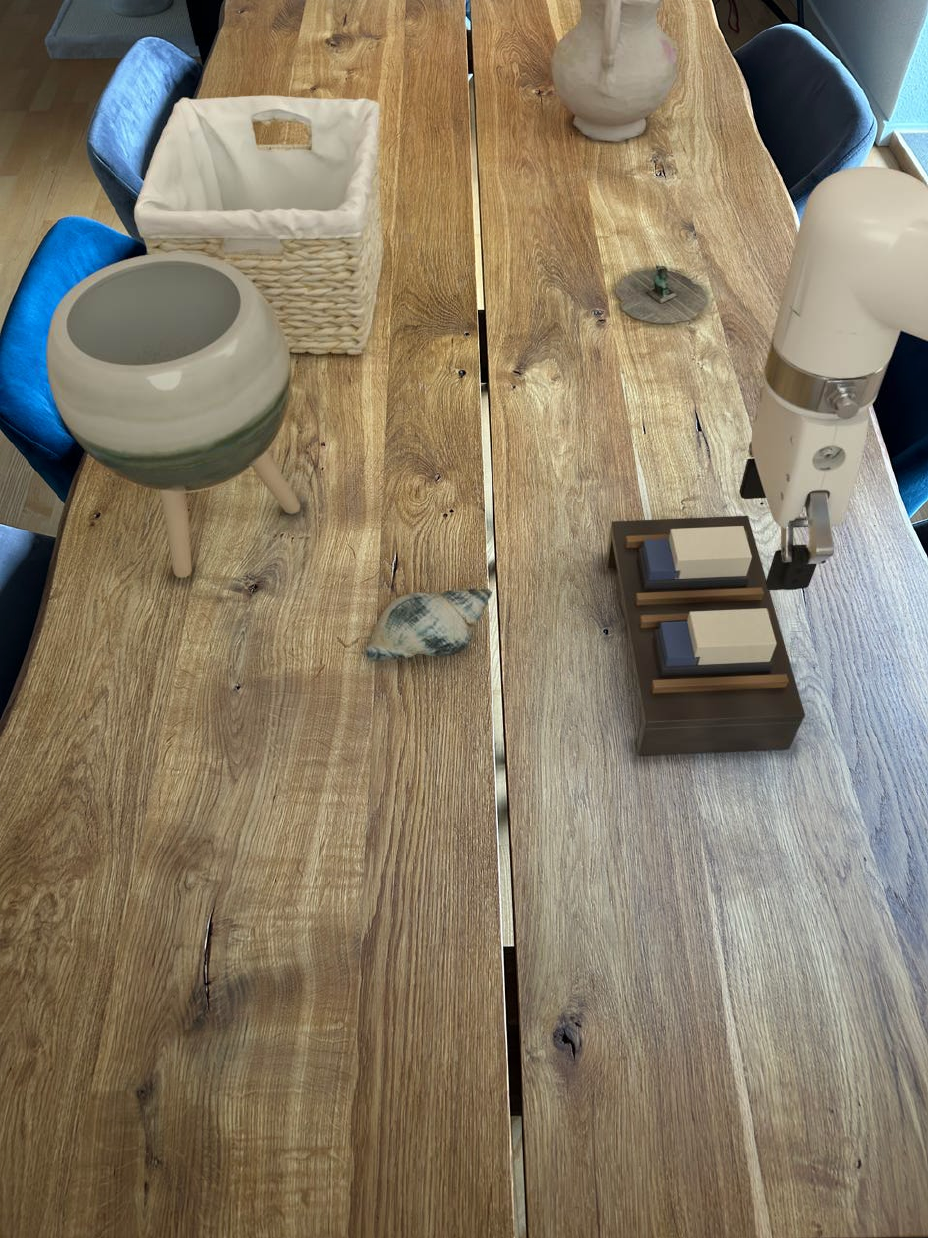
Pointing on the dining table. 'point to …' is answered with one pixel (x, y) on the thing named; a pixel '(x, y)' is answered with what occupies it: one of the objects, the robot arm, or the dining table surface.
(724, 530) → the two-tone stepped block
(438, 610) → the seashell
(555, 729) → the dining table surface
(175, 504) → the planter
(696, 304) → the sculpture
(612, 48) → the ceramic pitcher
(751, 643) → the blue cream block
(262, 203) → the basket
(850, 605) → the dining table surface
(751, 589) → the shoe rack
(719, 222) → the dining table surface
